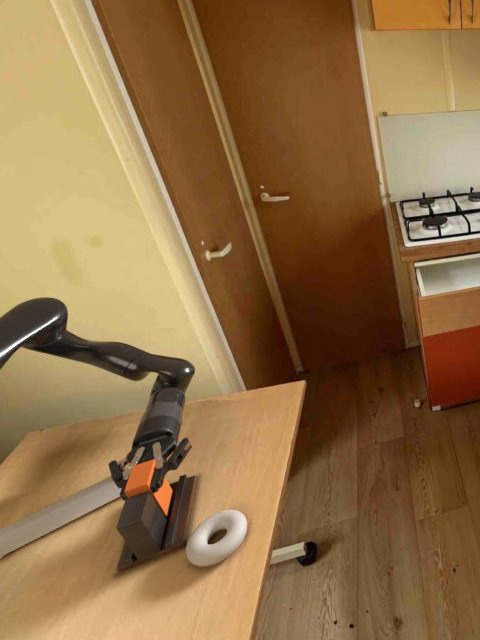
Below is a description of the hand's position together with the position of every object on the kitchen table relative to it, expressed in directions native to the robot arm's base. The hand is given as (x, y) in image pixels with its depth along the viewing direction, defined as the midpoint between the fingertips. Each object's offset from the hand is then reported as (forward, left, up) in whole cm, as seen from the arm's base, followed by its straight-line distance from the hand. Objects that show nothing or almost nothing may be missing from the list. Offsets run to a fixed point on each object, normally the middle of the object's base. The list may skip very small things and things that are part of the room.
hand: (140, 493), depth 80 cm
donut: (+11, -9, -10) cm, 18 cm away
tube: (-14, +11, -11) cm, 21 cm away
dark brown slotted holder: (0, +1, -10) cm, 10 cm away
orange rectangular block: (0, +3, -8) cm, 8 cm away
